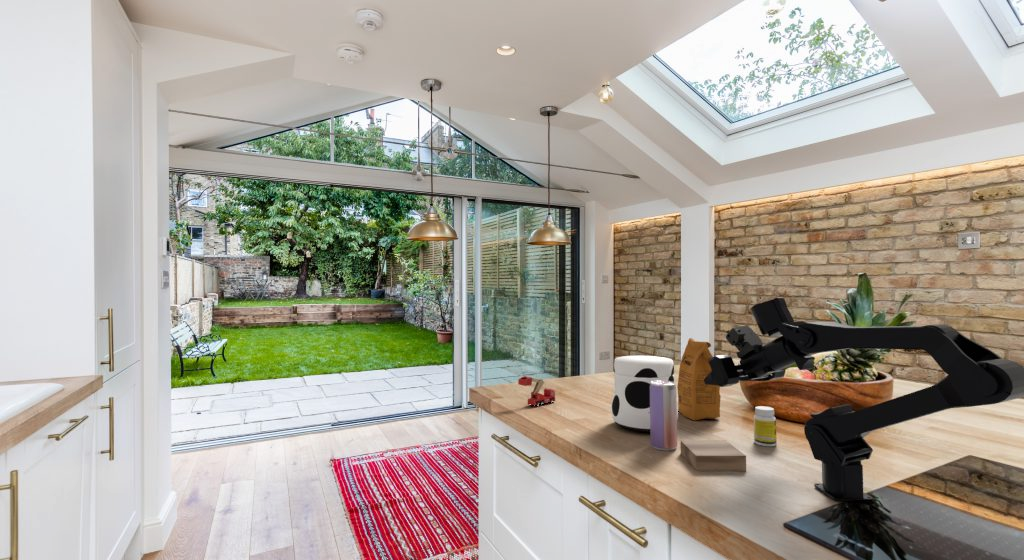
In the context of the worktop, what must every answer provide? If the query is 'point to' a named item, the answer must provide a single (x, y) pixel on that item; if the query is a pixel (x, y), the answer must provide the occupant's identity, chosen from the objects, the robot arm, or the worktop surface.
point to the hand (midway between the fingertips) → (719, 379)
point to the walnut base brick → (713, 455)
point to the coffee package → (697, 383)
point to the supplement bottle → (764, 426)
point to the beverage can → (663, 415)
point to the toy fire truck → (535, 396)
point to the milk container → (637, 388)
